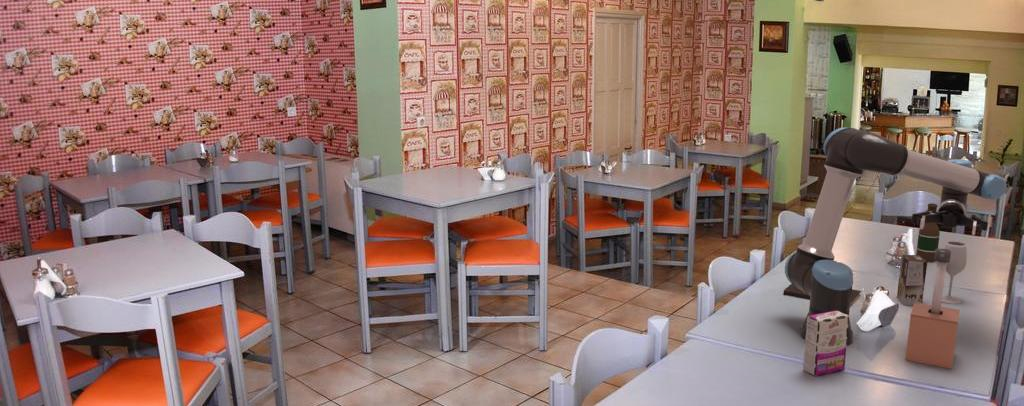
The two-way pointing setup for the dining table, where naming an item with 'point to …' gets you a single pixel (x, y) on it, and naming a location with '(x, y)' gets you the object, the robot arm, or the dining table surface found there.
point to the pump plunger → (939, 278)
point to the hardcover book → (799, 293)
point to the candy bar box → (825, 343)
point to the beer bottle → (928, 238)
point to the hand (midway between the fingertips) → (947, 227)
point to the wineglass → (955, 266)
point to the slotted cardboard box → (932, 335)
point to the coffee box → (911, 279)
